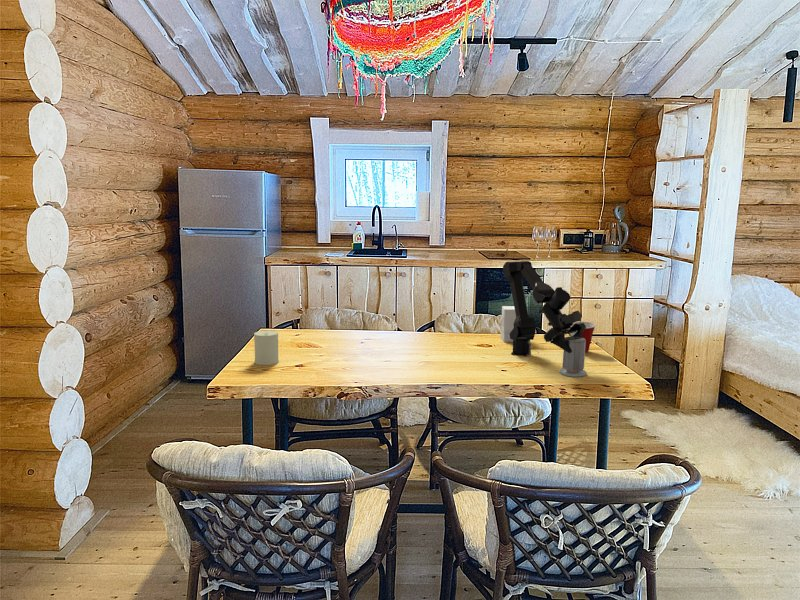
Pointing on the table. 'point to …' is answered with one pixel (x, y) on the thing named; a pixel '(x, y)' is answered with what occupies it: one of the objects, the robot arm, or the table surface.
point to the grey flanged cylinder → (574, 354)
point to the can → (266, 347)
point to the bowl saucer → (572, 373)
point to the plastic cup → (587, 333)
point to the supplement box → (507, 322)
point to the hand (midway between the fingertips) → (577, 351)
